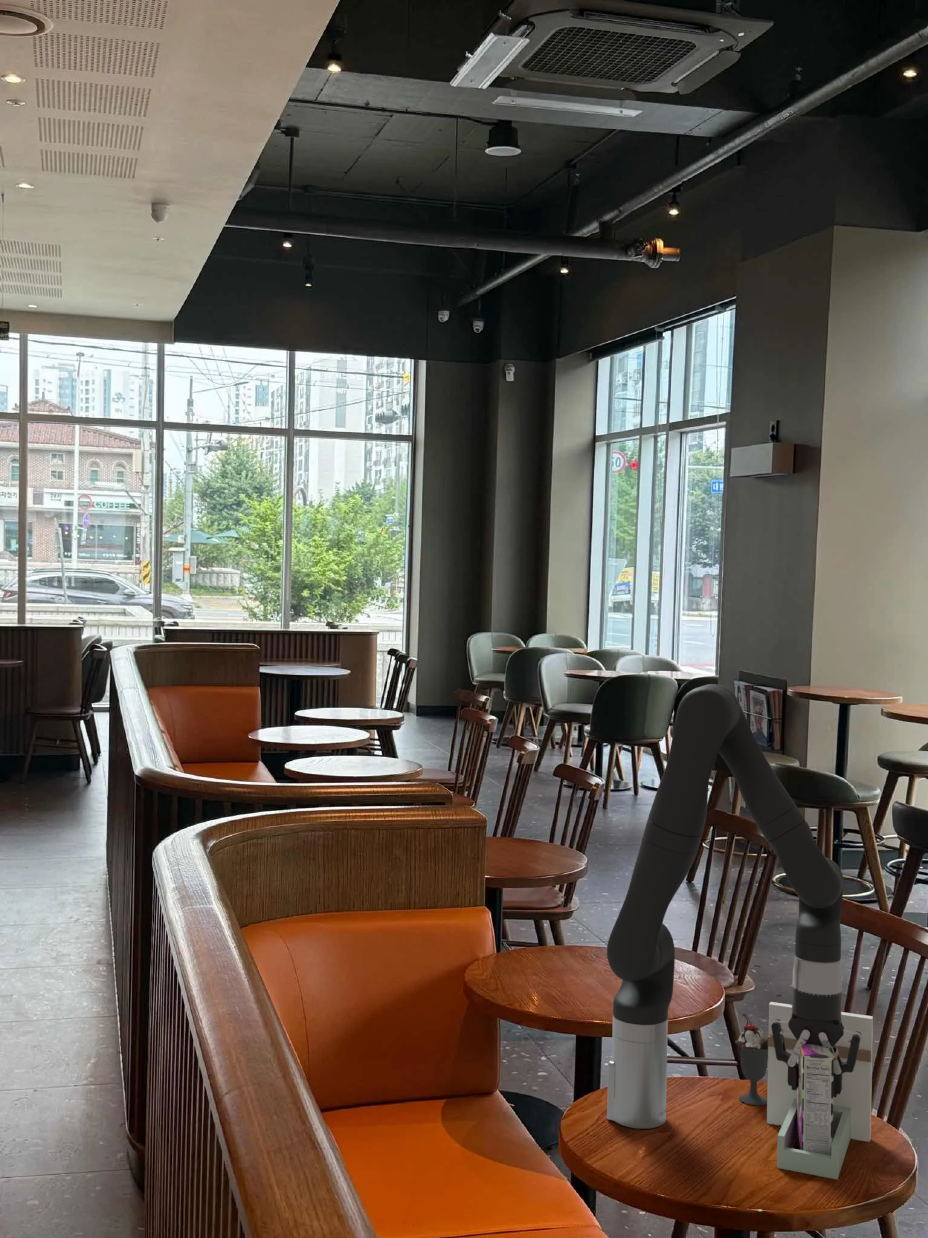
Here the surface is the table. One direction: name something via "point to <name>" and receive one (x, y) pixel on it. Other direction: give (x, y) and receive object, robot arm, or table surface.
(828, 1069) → the candy bar box
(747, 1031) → the sundae
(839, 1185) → the table surface
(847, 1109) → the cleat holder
